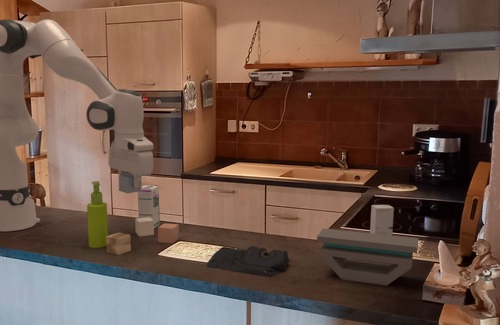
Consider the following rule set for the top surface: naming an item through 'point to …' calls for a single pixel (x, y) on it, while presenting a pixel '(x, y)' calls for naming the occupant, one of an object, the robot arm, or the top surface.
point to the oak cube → (118, 243)
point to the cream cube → (144, 226)
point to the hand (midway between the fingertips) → (130, 185)
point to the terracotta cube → (168, 233)
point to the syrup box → (149, 203)
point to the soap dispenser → (97, 219)
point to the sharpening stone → (367, 255)
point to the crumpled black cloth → (250, 261)
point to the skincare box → (381, 219)
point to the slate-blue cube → (128, 183)
